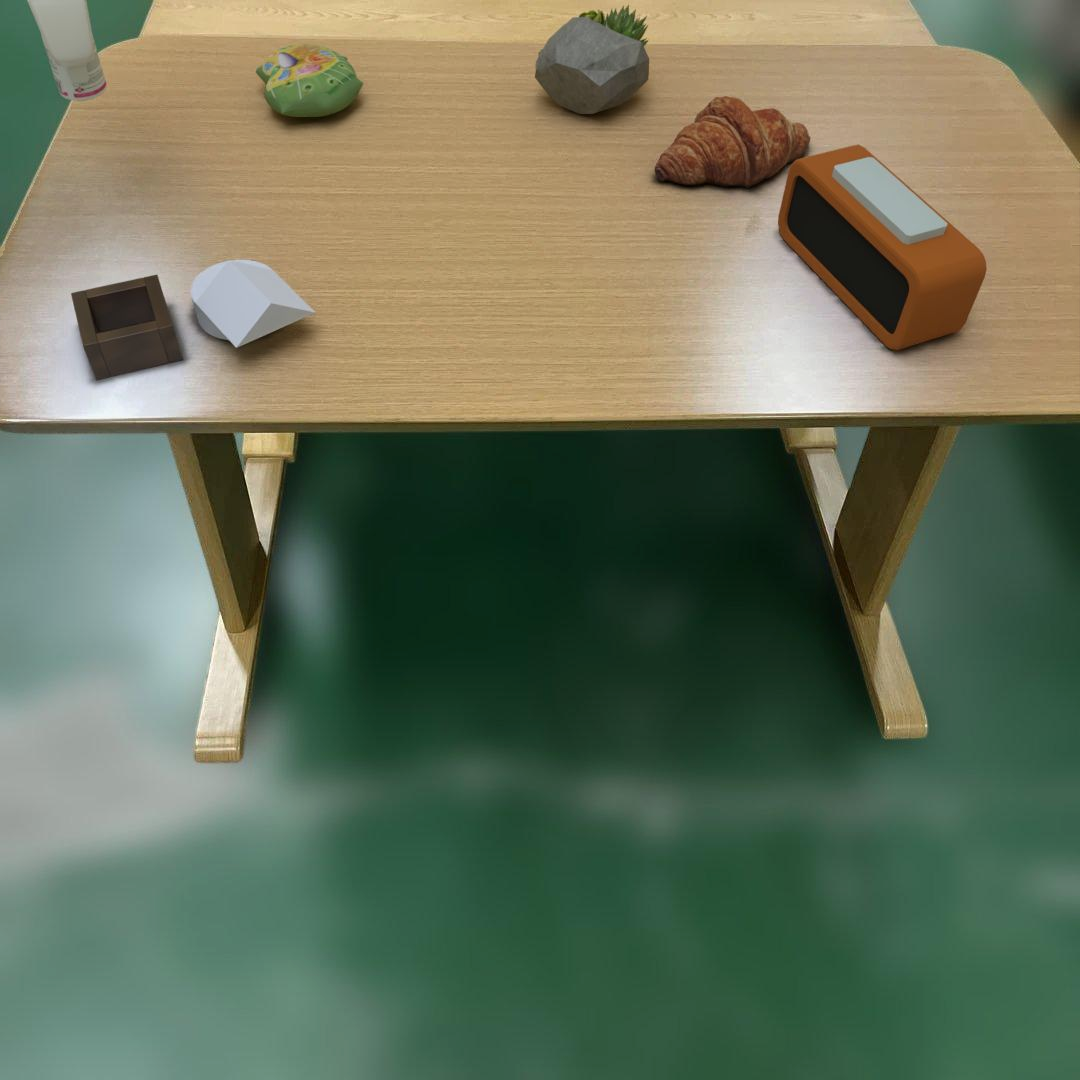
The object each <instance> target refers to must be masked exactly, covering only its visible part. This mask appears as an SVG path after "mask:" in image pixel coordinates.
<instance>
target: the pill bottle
mask: <svg viewBox="0 0 1080 1080" xmlns="http://www.w3.org/2000/svg"><path fill="white" fill-rule="evenodd" d="M92 36H93V43H94V60H93V61H91V62H88V63H86V67H87V71H88V74H89V81H88V82H85V83H79V84H74V83H72V82H71V80H70V76H69V73H68V70H67V67H66V66H58V65H57V64H56V63H55V61H54V60H53V58H52V56H51V54H50V52H49V50H48V48H47V46H46V43H45V41H44V39H43V36H42V35H41V39H42V43H43V46H44V49H45V53H46V56H47V58H48V62H49V66H50V68H51V72H52V74H53V78H54V80H55V85H56V88H57V90H58V92H59V94H60V96H61V97H63V98H64V99H66V100H70V101H74V102H87V101H91V100H94V99H97V98H99V97H100V96H102V95H103V94H104V93H105V92H106V90H107V88H108V87H107V86H108V85H107V80H106V77H105V73H104V71H103V67H102V62H101V59H100V57H99V53H98V49H97V45H96V42H95V38H94V35H93V33H92Z"/></svg>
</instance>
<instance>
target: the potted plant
mask: <svg viewBox="0 0 1080 1080" xmlns="http://www.w3.org/2000/svg"><path fill="white" fill-rule="evenodd" d="M617 11H618V10H617V8H615V9H614V11H613V8H611V9H610V13H609V12H607V13H606V16H605V13H604V12H603V10H600V9H597V11H595V10H594V9H592V10H588V11H586V12H585V11H584V12H581V13H580V14H579V15H578V16H573V17H572V18H571V19H569V20H568V21H567V22H566V23H564V24H563V25H561V27H560V28H559V29H557V30H556V31H555V32H554V33H553V34H552V35H551V36H550V37H549V38H548V39H547V41H546V43H545V44H544V46H543V47H542V49H540V51H538V55H537V56H538V57H537V59H536V61H535V73H534V79H535V80H536V81H537V83H538V84H539V85H540V86H541V87H542V89H543V90H544V92H545V93H546V94H548V96H549V97H550V98H551V99H553V100H554V102H556V104H558V105H559V106H560V107H562V108H565V109H567V110H569V111H572V112H574V113H577V114H579V115H589V114H590V115H593V114H598V113H599V112H600V113H601V112H602V111H606V110H609V109H612V108H615V107H618V106H620V105H622V104H624V103H625V102H628V101H629V100H630V99H631V98H632V97H633V96H634V95H635V94H636V93H637V92H638V91H639V90H640V89H641V88H642V87H643V86H644V85H645V84H646V83H647V82H648V80H649V77H650V75H649V73H650V57H649V54H648V52H647V51H646V49H645V46H646V45H647V44H648V42H649V39H648V38H647V37H646V38H643V37H644V35H645V33H646V32H647V29H648V27H649V24H647V23H645V21H646V19H647V17H648V15H646V16H644V17H643V18H642V19H641V16H639V17H637V18H636V11H637V8H636V9H634V10H633V11H632V12H630V4H628V5H627V6H626V7H625V5H622V7H621V9H620V10H619V12H617ZM642 38H643V39H642Z"/></svg>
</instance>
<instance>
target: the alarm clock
mask: <svg viewBox="0 0 1080 1080" xmlns="http://www.w3.org/2000/svg"><path fill="white" fill-rule="evenodd" d="M783 190H784V191H783V194H782V199H781V202H780V203H781V204H780V208H779V212H778V218H777V225H778V231H779V233H780V236H781V238H782V239H783V241H785V243H786V244H787V245H788V246H789V247H790V248H791V249H792V250H793V251H794V252H795V253H796V254H797V255H798V256H799V257H800V258H801V259H802V260H803V261H804V262H805V264H807V265H808V267H809V268H810V269H812V271H813V272H814V273H815V274H816V275H817V276H818V277H819V278H820V279H821V280H822V281H823V283H824V284H826V285H827V286H828V287H829V289H830V290H831V291H832V292H833V293H834V294H836V296H837V297H838V298H839V299H840V300H841V301H842V302H843V303H844V304H845V305H846V306H847V307H848V308H849V309H850V310H851V312H853V313H854V315H856V317H857V318H858V319H859V320H860V321H861V322H862V323H863V324H864V325H865V326H866V327H867V328H868V329H869V330H870V331H871V332H872V333H873V334H874V335H875V336H876V337H877V338H878V339H879V340H880V342H881V343H882V344H883V345H884V346H886V347H887V348H888V349H890V350H895V351H899V350H903V349H905V348H909V347H912V346H915V345H918V344H919V345H920V344H922V343H925V342H928V341H931V340H934V339H938V338H941V337H944V336H948V335H950V334H953V333H956V332H959V331H960V330H962V329H963V328H964V326H965V325H966V323H967V321H968V318H969V317H970V313H971V311H972V308H973V306H974V304H975V301H976V299H977V297H978V294H979V292H980V290H981V287H982V285H983V282H984V280H985V277H986V275H987V274H986V273H987V269H988V268H987V261H986V258H985V254H984V253H983V252H982V251H981V249H980V248H979V247H977V245H976V244H974V243H973V241H971V240H969V238H967V237H966V236H965V235H964V234H963V233H961V231H959V230H958V229H957V228H956V227H955V226H954V225H953V224H952V223H951V222H949V220H947V219H946V218H945V217H943V215H941V213H939V212H938V211H937V210H936V209H935V208H934V207H932V206H931V205H930V204H929V203H928V202H927V201H926V200H924V199H923V198H922V197H921V196H920V195H919V194H918V193H917V192H915V191H914V190H913V189H912V188H911V187H910V186H908V184H906V182H904V181H903V180H902V179H901V178H900V177H898V176H897V175H896V174H895V173H894V172H893V171H892V170H891V169H890V168H888V167H887V166H886V165H885V164H884V163H883V162H882V161H881V160H879V159H878V158H877V157H876V156H875V155H874V154H872V153H871V152H870V151H869V150H868V149H867V148H866V147H864V146H863V145H860V144H855V145H849V146H846V147H841V148H837V149H834V150H829V151H825V152H821V153H817V154H813V155H809V156H805V157H799V158H798V159H796V160H795V161H792V162H791V164H790V167H789V169H788V173H787V178H786V181H785V186H784V189H783Z"/></svg>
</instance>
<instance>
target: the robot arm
mask: <svg viewBox="0 0 1080 1080" xmlns="http://www.w3.org/2000/svg"><path fill="white" fill-rule="evenodd" d="M26 1H27V4H28V6H29V8H30V10H31V13H32V15H33V18H34V20H35V22H36V25H37V27H38V30H39V31H40V34H41V37H42V36H43V39H44V41H45V43H46V46H47V48H48V50H49V52H50V54H51V56H52V58H53V60H54V61H55V63H56V64H57V65H58V66H66V67H67V70H68V73H69V76H70V80H71V82H72V83H74V84H79V83H85V82H88V81H89V74H88V71H87V67H86V63H88V62H91V61H93V60H94V43H93V38H94V35H93V36H92V34H93V30H92V24H91V19H90V14H89V8H88V2H87V0H26Z"/></svg>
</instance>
